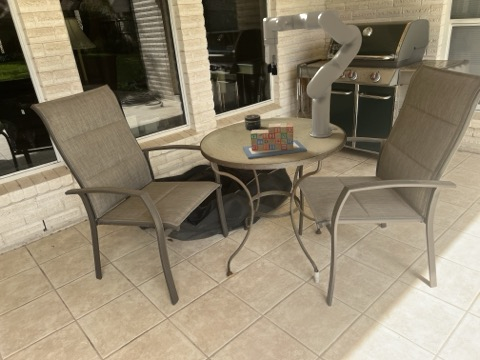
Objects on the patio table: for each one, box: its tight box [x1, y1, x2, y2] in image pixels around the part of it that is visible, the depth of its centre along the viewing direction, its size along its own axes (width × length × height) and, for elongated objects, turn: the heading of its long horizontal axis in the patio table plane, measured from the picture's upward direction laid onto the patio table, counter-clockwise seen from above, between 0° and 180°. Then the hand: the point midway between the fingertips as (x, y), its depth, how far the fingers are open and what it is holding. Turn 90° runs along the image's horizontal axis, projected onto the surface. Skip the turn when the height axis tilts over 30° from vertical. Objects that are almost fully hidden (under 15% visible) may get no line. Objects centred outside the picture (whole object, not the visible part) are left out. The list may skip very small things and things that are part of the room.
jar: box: [244, 113, 262, 131], centre depth 229 cm, size 10×10×8 cm
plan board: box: [242, 139, 308, 160], centre depth 191 cm, size 30×16×1 cm, turn 100°
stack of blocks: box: [250, 122, 294, 150], centre depth 188 cm, size 21×6×12 cm, turn 81°
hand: (272, 74), depth 209 cm, fingers open, 9 cm apart
